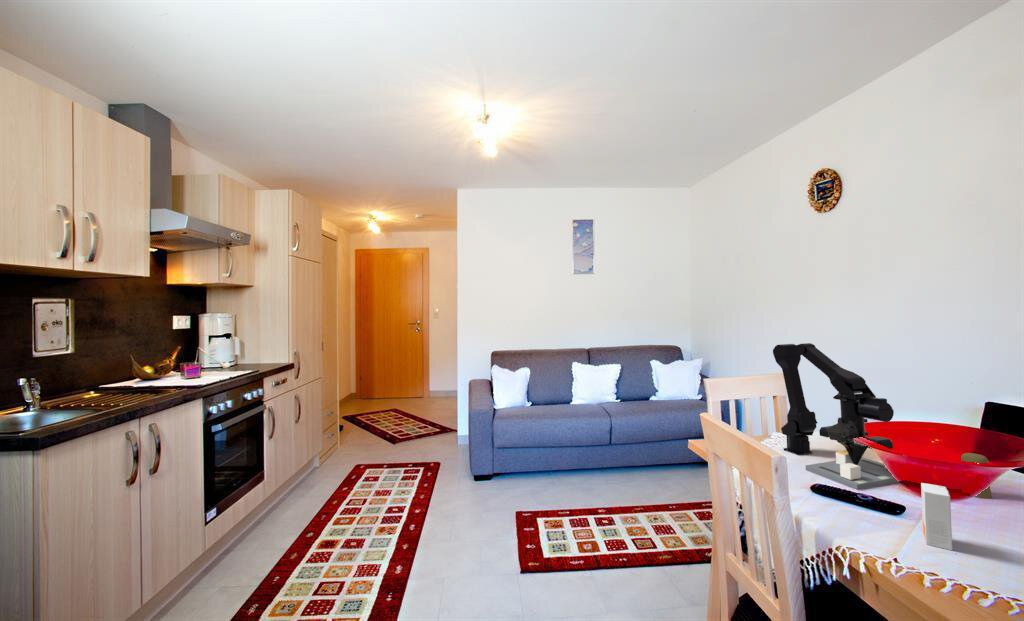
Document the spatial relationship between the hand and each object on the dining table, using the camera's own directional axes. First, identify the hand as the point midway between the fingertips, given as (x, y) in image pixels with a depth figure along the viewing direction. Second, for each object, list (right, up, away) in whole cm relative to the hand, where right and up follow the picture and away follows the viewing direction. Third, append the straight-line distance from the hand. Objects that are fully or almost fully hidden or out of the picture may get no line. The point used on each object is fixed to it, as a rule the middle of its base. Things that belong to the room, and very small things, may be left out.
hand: (855, 464), depth 133 cm
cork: (+20, -2, -16) cm, 26 cm away
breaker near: (-7, -1, -7) cm, 10 cm away
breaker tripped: (-1, -1, +3) cm, 3 cm away
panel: (0, -3, -1) cm, 3 cm away
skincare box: (-13, -3, -39) cm, 41 cm away
